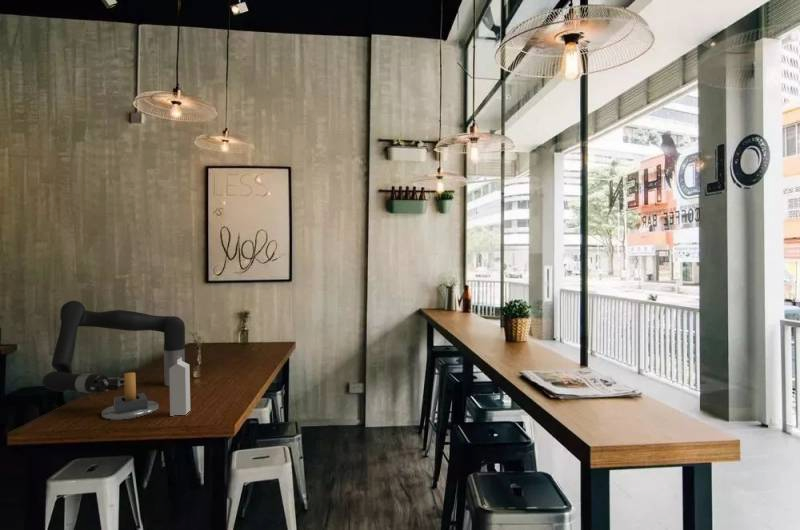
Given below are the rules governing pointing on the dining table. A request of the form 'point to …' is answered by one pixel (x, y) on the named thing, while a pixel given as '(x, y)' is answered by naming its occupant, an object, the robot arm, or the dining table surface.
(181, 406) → the milk
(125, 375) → the pin
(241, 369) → the dining table surface
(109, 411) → the square frame on disc
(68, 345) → the robot arm
